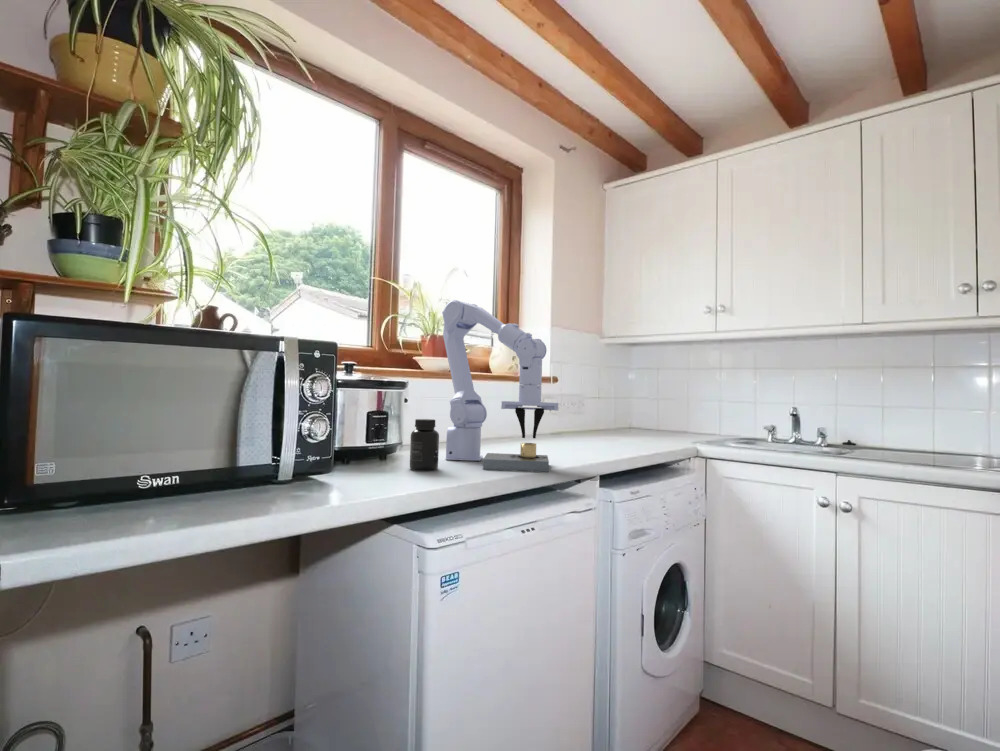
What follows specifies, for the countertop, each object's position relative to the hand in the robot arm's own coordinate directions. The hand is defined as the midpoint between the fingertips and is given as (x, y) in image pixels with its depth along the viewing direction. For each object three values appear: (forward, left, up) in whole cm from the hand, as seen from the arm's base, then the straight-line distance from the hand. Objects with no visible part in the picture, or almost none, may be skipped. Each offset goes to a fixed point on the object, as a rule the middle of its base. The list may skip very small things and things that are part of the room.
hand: (528, 437), depth 134 cm
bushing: (0, 0, -7) cm, 7 cm away
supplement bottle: (-25, -10, -8) cm, 28 cm away
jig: (-3, -1, -7) cm, 8 cm away
